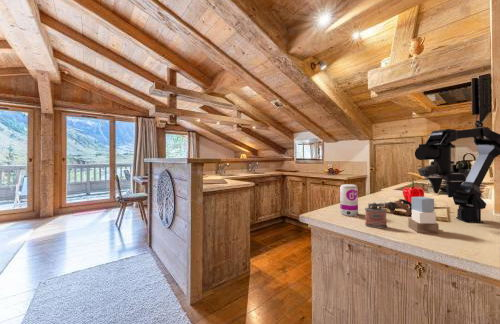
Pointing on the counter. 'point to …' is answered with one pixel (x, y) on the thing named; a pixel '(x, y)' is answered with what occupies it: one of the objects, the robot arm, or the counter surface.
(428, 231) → the walnut base block
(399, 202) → the dark brown irregular piece
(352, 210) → the supplement can
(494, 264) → the counter surface
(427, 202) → the slate block
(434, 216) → the cream middle block
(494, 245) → the counter surface
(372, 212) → the lighter
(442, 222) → the counter surface
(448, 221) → the counter surface
